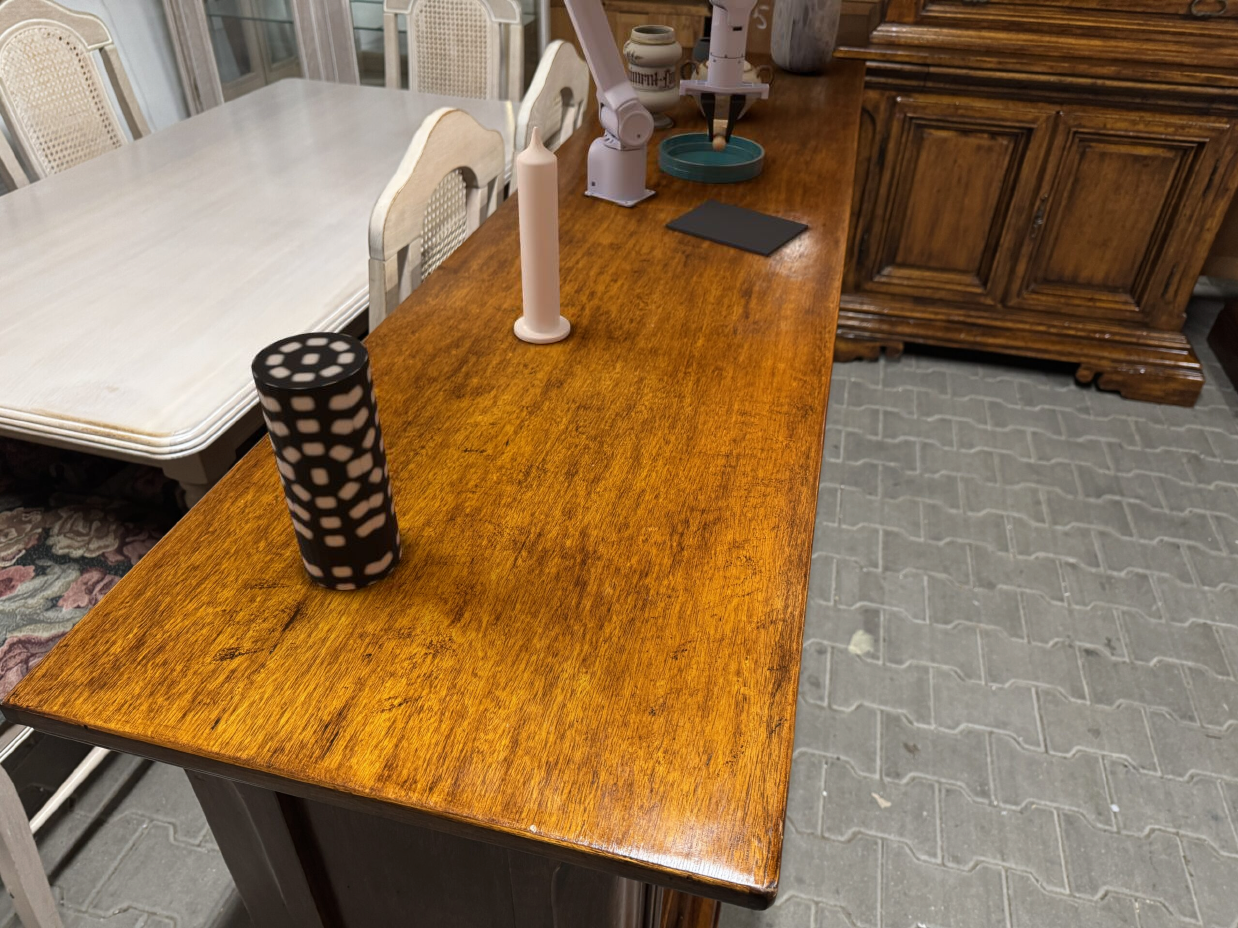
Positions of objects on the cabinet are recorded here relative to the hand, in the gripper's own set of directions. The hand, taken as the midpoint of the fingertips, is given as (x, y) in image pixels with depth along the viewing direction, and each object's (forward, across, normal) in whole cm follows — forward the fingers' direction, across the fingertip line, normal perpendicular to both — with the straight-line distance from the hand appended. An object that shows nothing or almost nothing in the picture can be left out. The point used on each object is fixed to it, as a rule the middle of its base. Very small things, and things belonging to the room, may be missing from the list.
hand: (719, 140), depth 149 cm
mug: (+8, +2, -64) cm, 64 cm away
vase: (+8, -22, -87) cm, 90 cm away
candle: (+8, +22, +56) cm, 60 cm away
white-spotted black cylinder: (+8, +32, +98) cm, 104 cm away
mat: (+8, -3, +18) cm, 20 cm away
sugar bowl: (+8, -2, -44) cm, 45 cm away
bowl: (+8, +1, -10) cm, 13 cm away
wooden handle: (+1, 0, -4) cm, 4 cm away
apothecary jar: (+8, +13, -36) cm, 39 cm away
